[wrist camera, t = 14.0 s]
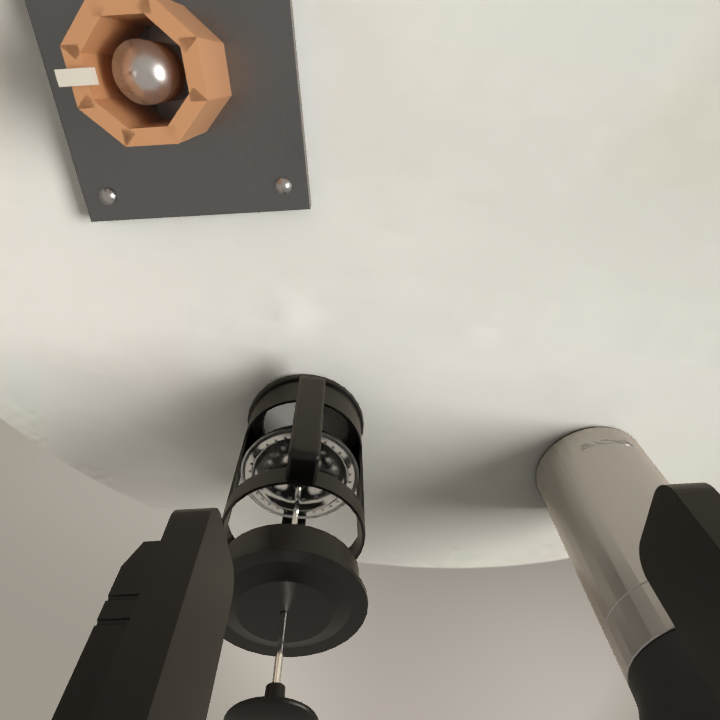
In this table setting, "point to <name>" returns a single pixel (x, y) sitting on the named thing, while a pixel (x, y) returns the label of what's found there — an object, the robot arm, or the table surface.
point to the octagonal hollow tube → (104, 98)
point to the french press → (296, 537)
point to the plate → (166, 95)
